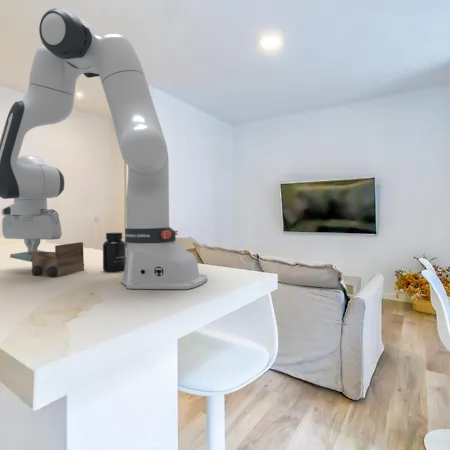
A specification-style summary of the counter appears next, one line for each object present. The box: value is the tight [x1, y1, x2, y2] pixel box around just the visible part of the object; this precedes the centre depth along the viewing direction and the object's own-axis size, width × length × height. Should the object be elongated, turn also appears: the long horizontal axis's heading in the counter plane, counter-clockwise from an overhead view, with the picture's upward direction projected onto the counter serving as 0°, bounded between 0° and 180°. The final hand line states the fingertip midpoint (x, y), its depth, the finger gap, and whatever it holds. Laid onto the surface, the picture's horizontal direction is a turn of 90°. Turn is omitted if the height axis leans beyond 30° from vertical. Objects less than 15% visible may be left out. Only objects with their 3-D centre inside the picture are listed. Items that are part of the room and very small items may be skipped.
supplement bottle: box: [102, 232, 127, 273], centre depth 97 cm, size 7×7×12 cm
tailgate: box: [9, 249, 47, 263], centre depth 97 cm, size 2×10×8 cm
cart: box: [31, 241, 85, 278], centre depth 95 cm, size 10×12×9 cm
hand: (32, 253), depth 98 cm, fingers closed, pressing on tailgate
